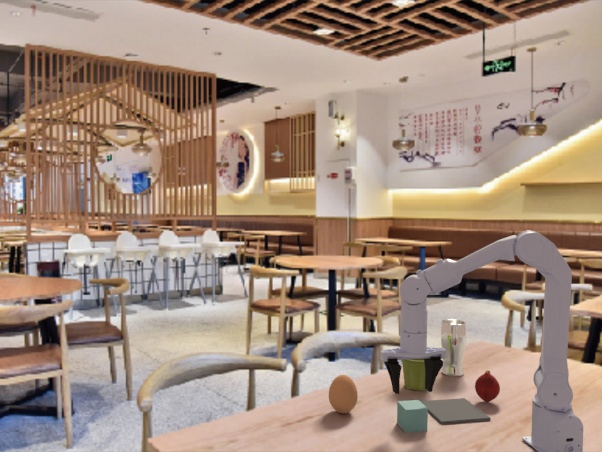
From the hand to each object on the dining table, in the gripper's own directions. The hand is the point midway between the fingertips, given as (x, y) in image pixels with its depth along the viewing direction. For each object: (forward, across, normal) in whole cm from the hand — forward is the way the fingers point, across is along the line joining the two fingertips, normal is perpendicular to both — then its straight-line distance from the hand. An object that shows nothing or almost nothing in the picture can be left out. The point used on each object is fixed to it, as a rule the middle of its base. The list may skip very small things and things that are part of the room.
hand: (412, 391), depth 115 cm
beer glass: (+8, -26, -32) cm, 42 cm away
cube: (+8, 0, 0) cm, 8 cm away
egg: (+8, +13, -10) cm, 18 cm away
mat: (+8, -13, -6) cm, 16 cm away
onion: (+8, -24, -10) cm, 27 cm away
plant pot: (+8, -11, -23) cm, 27 cm away
